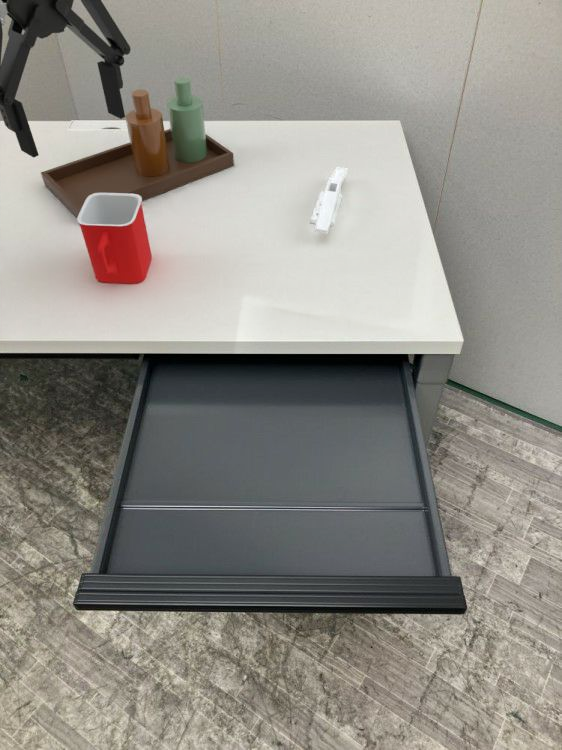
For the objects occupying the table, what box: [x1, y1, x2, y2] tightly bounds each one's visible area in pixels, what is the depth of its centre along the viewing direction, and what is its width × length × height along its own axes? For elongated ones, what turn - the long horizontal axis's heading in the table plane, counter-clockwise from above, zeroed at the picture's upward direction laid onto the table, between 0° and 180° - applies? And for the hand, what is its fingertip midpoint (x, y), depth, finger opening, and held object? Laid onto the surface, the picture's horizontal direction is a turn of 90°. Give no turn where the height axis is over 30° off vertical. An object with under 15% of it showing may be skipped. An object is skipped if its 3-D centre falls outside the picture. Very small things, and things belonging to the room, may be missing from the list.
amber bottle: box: [124, 89, 170, 177], centre depth 106 cm, size 6×6×14 cm
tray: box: [40, 128, 235, 219], centre depth 110 cm, size 32×16×3 cm, turn 128°
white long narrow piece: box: [309, 166, 349, 235], centre depth 102 cm, size 4×20×5 cm, turn 166°
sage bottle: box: [166, 76, 207, 162], centre depth 110 cm, size 6×6×14 cm
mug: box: [76, 193, 153, 285], centre depth 88 cm, size 12×8×11 cm
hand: (75, 133), depth 77 cm, fingers open, 13 cm apart
